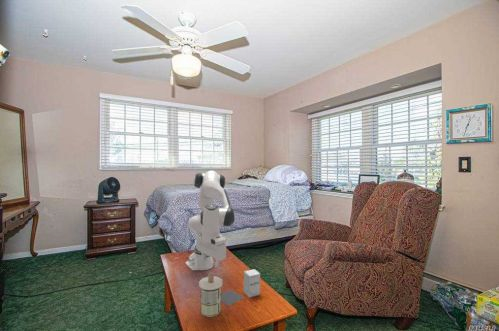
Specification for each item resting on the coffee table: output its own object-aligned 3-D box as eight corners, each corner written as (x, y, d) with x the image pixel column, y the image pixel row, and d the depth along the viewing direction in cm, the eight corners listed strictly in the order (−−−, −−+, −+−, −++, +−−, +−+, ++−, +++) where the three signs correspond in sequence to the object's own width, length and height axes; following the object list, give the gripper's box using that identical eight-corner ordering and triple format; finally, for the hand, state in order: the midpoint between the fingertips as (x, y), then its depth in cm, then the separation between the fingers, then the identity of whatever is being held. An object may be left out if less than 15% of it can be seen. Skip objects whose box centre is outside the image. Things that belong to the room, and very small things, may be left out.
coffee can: (198, 308, 125) (198, 281, 125) (216, 303, 130) (216, 277, 130) (204, 320, 116) (204, 291, 116) (223, 314, 121) (224, 286, 121)
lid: (194, 284, 123) (194, 273, 123) (213, 276, 132) (213, 266, 132) (208, 292, 115) (208, 281, 115) (227, 284, 123) (227, 273, 123)
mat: (214, 298, 135) (214, 297, 135) (230, 290, 144) (230, 289, 144) (228, 306, 127) (228, 306, 127) (244, 297, 136) (244, 297, 136)
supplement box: (249, 298, 135) (249, 276, 135) (243, 292, 142) (243, 270, 142) (260, 295, 139) (260, 273, 139) (254, 289, 145) (254, 268, 145)
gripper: (194, 233, 128) (193, 259, 128) (218, 243, 114) (218, 271, 114) (203, 231, 132) (203, 256, 132) (228, 240, 118) (228, 267, 118)
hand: (210, 263), depth 123 cm, fingers open, 8 cm apart
